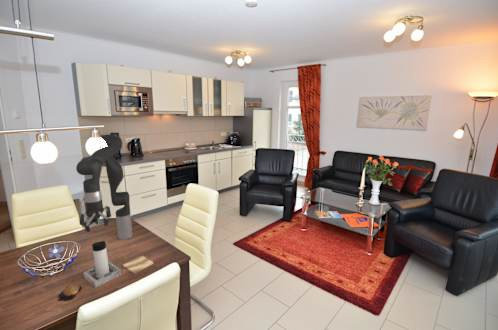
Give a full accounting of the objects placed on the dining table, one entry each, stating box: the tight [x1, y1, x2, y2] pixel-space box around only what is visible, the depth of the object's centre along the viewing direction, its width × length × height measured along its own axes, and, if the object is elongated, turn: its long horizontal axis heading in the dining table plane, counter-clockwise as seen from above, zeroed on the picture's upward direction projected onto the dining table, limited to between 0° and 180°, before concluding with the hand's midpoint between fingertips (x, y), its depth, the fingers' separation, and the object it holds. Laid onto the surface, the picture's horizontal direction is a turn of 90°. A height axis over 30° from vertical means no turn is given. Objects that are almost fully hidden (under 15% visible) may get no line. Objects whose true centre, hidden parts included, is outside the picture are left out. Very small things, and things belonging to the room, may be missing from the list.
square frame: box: [83, 260, 122, 289], centre depth 138 cm, size 13×13×4 cm
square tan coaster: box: [122, 255, 154, 275], centre depth 149 cm, size 12×12×1 cm
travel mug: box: [91, 240, 110, 280], centre depth 137 cm, size 6×7×20 cm
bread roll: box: [57, 284, 84, 302], centre depth 125 cm, size 11×8×4 cm
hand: (97, 228), depth 133 cm, fingers open, 8 cm apart
